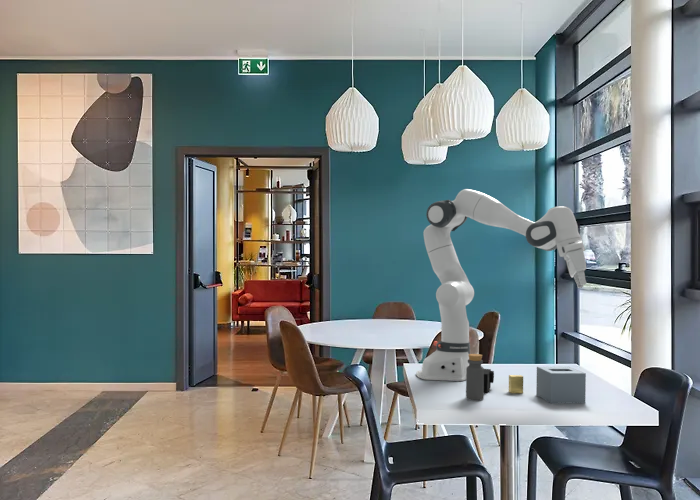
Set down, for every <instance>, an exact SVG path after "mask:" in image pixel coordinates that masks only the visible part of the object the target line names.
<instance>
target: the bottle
mask: <svg viewBox="0 0 700 500" xmlns="http://www.w3.org/2000/svg"><path fill="white" fill-rule="evenodd" d="M468 356H469V359H468V363H469V366H468V367H467V369H466V380H465V381H466V382H465V383H466V384H465V399H467V400H470V401H476V402H477V401H483V400H484V393H483V391H484V369H485V368H484V367H483V366H482V364H483V363H484V360H483V359H482V358H483V354H480V353H470V354H469V355H468Z"/></svg>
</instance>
